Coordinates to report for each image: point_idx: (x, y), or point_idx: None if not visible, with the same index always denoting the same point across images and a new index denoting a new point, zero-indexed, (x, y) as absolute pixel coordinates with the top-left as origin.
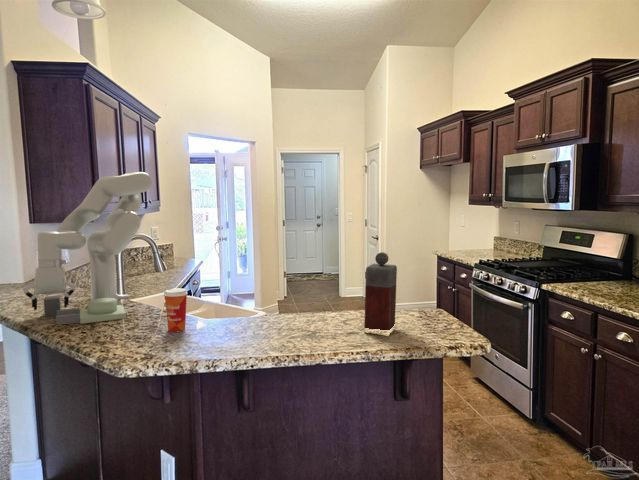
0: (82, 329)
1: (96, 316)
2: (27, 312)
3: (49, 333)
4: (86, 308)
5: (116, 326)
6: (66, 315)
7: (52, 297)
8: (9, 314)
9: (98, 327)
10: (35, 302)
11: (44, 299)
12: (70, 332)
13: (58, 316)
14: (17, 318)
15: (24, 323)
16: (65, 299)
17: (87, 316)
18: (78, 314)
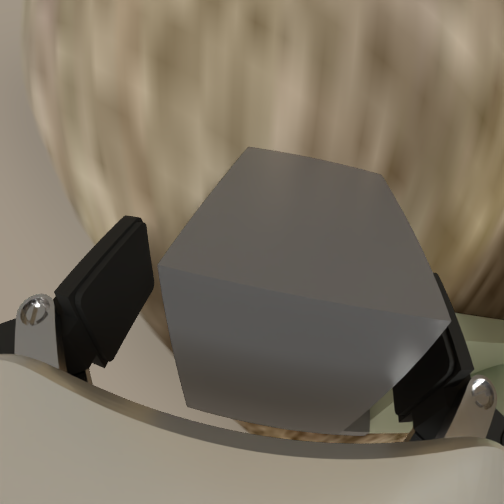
0: (332, 436)
1: (403, 432)
2: (109, 10)
3: (248, 424)
4: (481, 343)
5: (402, 440)
6: (313, 432)
7: (285, 386)
8: (32, 44)
9: (370, 437)
10: (116, 340)
11: (189, 400)
12: (298, 437)
13: (282, 428)
14: (77, 175)
15: (143, 306)
16: (402, 401)
17: (383, 429)
18: (358, 434)
